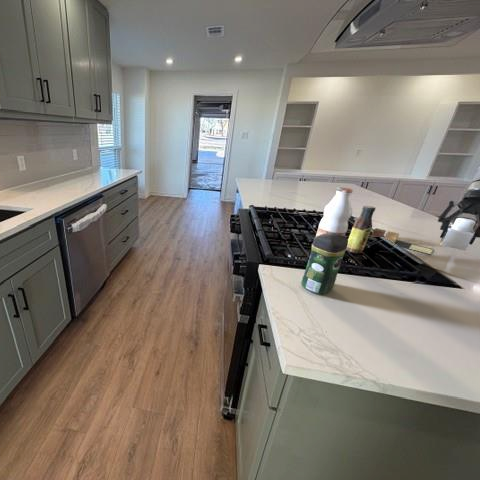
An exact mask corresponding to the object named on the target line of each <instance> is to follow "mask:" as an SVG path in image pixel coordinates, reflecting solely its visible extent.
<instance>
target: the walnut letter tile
mask: <svg viewBox="0 0 480 480" xmlns="http://www.w3.org/2000/svg"><path fill="white" fill-rule="evenodd" d="M386 233H387V230H385V229H383V228H382V229H381V228H378V227H376V228H374V229H373V231H372V233H371V235H370V236H371V238H372V237H385V235H386ZM375 239H376V238H375Z"/></svg>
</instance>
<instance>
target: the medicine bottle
mask: <svg viewBox="0 0 480 480" xmlns="http://www.w3.org/2000/svg"><path fill="white" fill-rule="evenodd" d="M476 226H477V220H476V219H474V218H472V217H471V218H470V217H466V216H458V217H456V218H455V219H453V220H452V223H451V225H449V226H448V228H447V230H446V232H445V234H444V236H443V238H440V239H441V240H440V246H442V247H447V248H450V249H451V248H452V249H455V250H461V251H466V250H467V249H468V247H469V245H470V244H469V243H470V241H471V239H472V238H473V236H474V233H475V231H474V229H475V228H476Z"/></svg>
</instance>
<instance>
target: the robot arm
mask: <svg viewBox="0 0 480 480" xmlns="http://www.w3.org/2000/svg"><path fill="white" fill-rule="evenodd" d="M455 207H458V208H459V209H457V210H456V211H455V212H453V213H452V214H451V215H449V216H448V214H449V213H450V212H451V211H452V209H454V208H455ZM463 214H467V215H468V214H470V215H473V216H474V218H475V220H476V221H477V224H476V226H477V228H476V229H475V231H474V236H473V238H472V239H471V241H470V243H469V245H473V243H474V242H475V240H476V238H478V239H480V166H479V167H478V168H477V169H476V171H475V173H474V175H473V178H472V179H471V181H470V184H469V185H468V187H467V189H466V191H465V193H464V195H463V197H462V198H461V200H460V201H458V202H456V201H454V200H449V202H448V204H447V207H446V208H445V210H444V211H443V212H442V213H441V214H440V215H439V217H438V219H437V222H438V223H441V225H440V227H439V230H440V231H442V232H441V234H440V236H439V238H440V239H442V238H443V236H444V234H445V232H446V230H447V228H448V226H450V224H451V222H453V221H454V219H455V218H456V217H460V216H461V215H463Z"/></svg>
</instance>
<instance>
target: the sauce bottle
mask: <svg viewBox="0 0 480 480" xmlns="http://www.w3.org/2000/svg"><path fill="white" fill-rule="evenodd" d="M375 211H376V207H375V206H373V205H372V206H371V205H363V206H362V210H361V213H360V216H359V217H357V218H356V219H355V220H354V223H353V226H352V227H351V230H350V233H349V235H348V238H347V240H348V245H347V248H346V251H347V252H350V253H353V254H362V253H363V252H364V250H365V247H366V245H367V241H368V240H369V239H368V238H369V237H370V234H371V231H372V229H373V215H374V212H375Z"/></svg>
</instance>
